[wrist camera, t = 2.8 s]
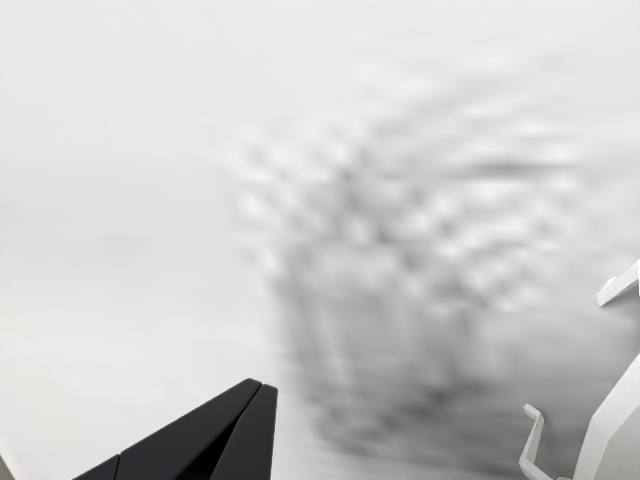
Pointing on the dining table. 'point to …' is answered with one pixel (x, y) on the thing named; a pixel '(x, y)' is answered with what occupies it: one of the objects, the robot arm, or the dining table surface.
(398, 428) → the dining table surface
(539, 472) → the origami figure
